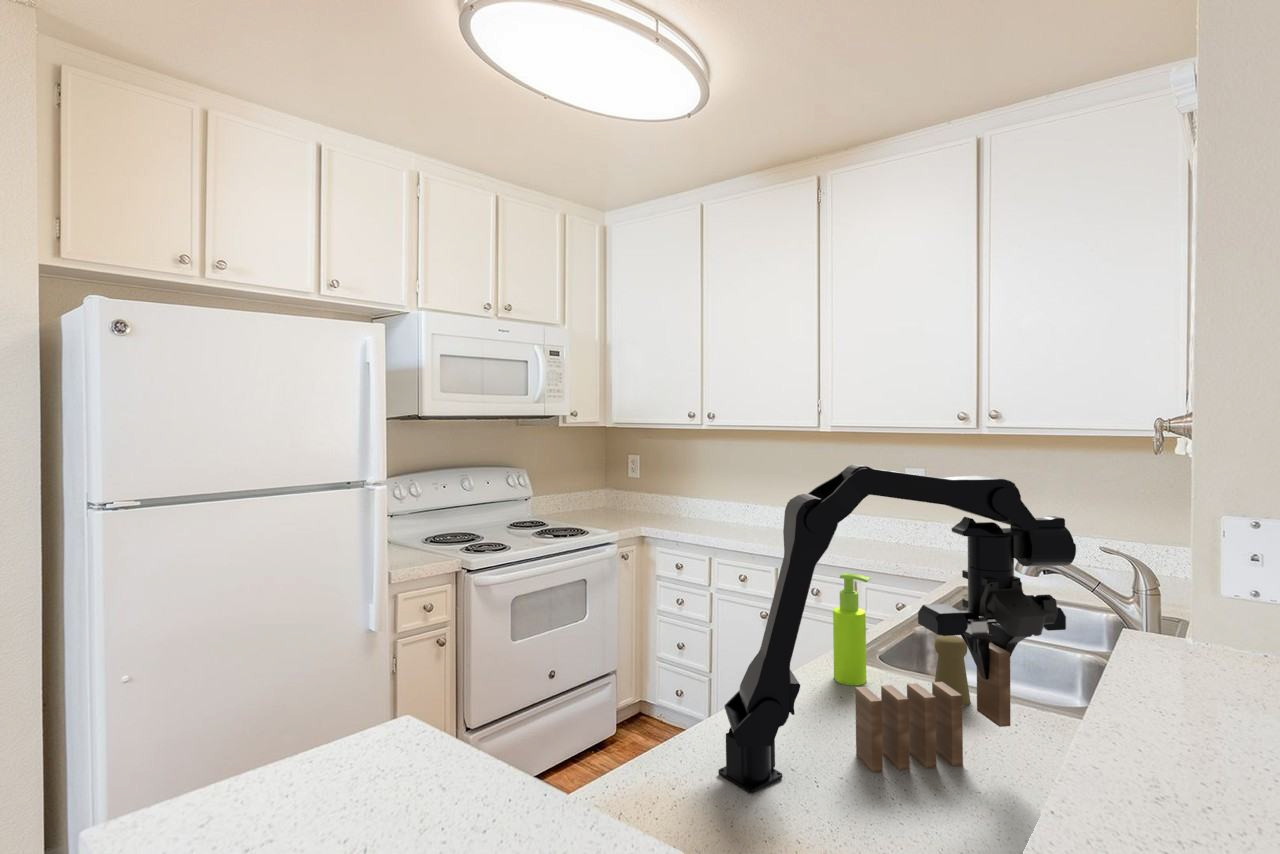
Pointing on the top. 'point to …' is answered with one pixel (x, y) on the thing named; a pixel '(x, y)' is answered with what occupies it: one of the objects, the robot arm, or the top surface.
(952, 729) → the tile
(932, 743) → the tile
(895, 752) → the tile
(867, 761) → the tile
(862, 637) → the soap dispenser
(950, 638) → the cork
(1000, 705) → the tile
